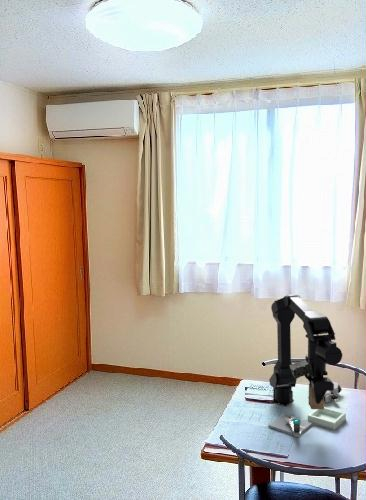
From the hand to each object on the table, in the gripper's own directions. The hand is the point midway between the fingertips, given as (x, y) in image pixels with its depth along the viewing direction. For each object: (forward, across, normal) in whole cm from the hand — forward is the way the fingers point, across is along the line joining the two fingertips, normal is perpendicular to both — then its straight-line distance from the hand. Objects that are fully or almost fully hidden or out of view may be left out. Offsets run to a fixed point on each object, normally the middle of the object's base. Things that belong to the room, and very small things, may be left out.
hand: (316, 400), depth 152 cm
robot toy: (+12, -29, +11) cm, 33 cm away
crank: (+10, 0, -7) cm, 13 cm away
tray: (+11, -8, +6) cm, 15 cm away
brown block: (+2, 0, 0) cm, 2 cm away
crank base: (+11, -5, -7) cm, 14 cm away
